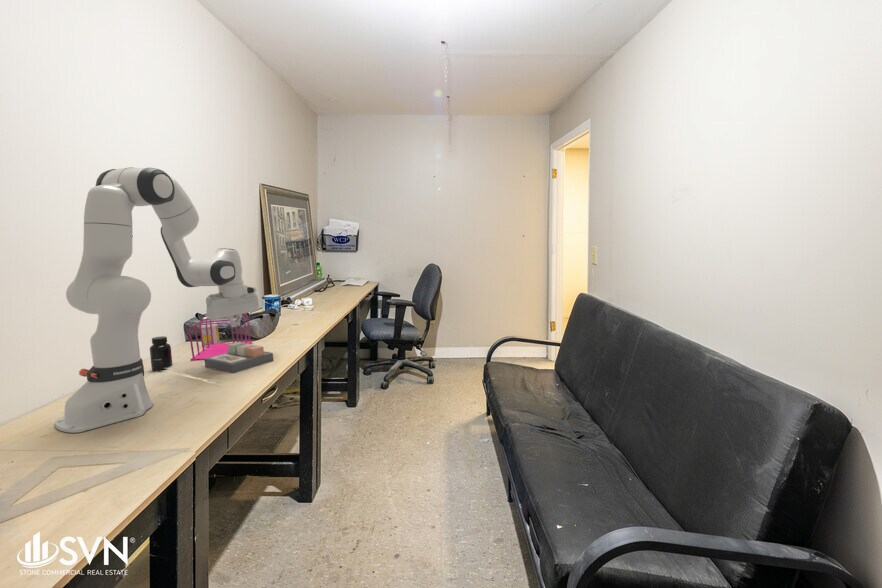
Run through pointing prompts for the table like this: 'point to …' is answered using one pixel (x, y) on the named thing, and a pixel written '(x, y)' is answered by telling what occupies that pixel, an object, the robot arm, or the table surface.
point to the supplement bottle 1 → (160, 354)
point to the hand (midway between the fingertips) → (235, 326)
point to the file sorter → (213, 348)
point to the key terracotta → (254, 351)
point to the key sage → (234, 347)
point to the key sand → (243, 349)
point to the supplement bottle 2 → (214, 332)
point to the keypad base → (236, 362)
